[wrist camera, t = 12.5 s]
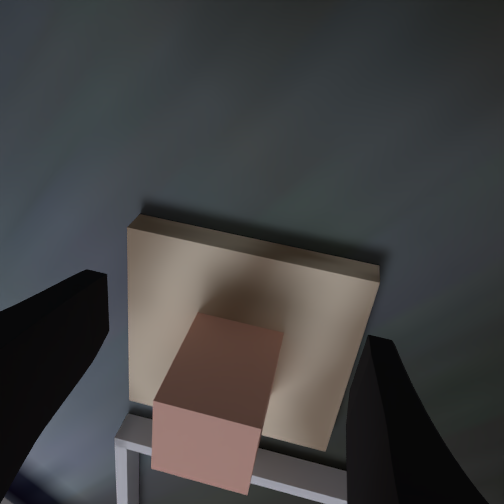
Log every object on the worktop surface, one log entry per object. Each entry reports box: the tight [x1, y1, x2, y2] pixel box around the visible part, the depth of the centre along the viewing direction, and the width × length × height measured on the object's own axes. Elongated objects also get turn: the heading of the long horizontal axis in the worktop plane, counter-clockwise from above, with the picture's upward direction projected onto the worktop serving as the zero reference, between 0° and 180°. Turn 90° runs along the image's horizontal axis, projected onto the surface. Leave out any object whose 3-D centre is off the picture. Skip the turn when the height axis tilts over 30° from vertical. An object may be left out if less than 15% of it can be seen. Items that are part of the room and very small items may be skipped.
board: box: [127, 214, 380, 451], centre depth 26 cm, size 12×12×2 cm
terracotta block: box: [151, 312, 284, 495], centre depth 23 cm, size 4×4×6 cm
